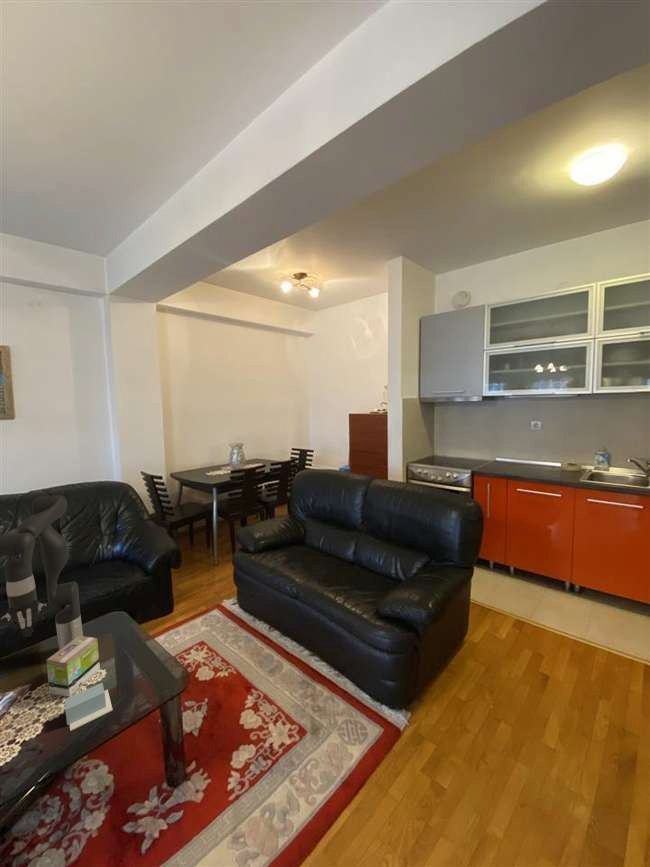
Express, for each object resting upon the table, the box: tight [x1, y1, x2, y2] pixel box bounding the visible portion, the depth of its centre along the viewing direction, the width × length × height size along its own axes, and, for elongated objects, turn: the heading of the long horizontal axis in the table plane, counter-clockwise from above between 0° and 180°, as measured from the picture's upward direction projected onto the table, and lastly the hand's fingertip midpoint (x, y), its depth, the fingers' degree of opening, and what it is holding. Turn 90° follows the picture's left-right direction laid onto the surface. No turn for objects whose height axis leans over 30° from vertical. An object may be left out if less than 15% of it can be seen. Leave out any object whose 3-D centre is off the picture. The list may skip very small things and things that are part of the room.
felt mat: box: [69, 689, 113, 732], centre depth 136 cm, size 12×13×1 cm
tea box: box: [46, 635, 101, 698], centre depth 149 cm, size 15×10×15 cm, turn 168°
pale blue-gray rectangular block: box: [64, 682, 106, 726], centre depth 135 cm, size 6×6×12 cm
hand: (27, 635), depth 129 cm, fingers closed
